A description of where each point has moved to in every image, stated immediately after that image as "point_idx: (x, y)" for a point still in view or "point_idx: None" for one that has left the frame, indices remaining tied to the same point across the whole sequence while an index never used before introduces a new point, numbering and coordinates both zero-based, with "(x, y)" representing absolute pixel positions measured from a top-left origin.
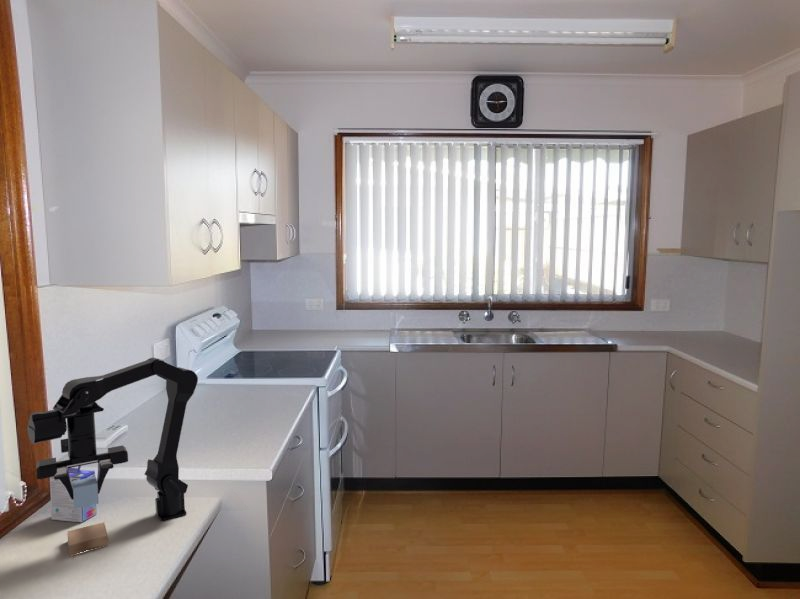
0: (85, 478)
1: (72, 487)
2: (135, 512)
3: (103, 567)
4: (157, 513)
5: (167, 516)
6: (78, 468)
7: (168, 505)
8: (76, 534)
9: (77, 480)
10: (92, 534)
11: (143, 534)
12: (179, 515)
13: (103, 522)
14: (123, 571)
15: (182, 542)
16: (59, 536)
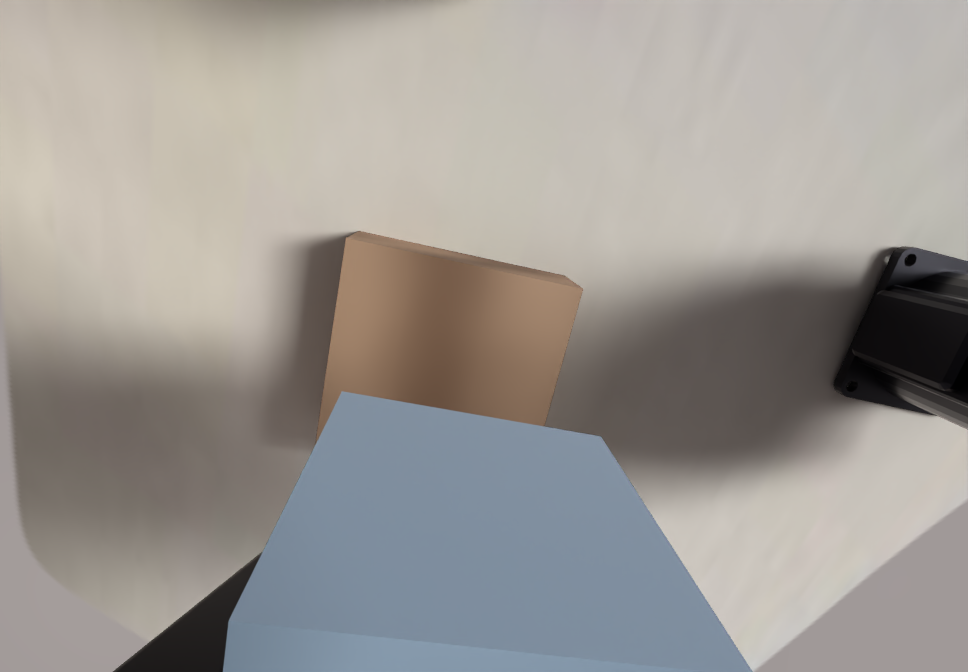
0: (544, 657)
1: (282, 518)
2: (819, 128)
3: None
4: (866, 355)
5: (880, 386)
6: None
7: (955, 419)
8: (385, 340)
9: (357, 653)
10: None
11: (691, 462)
12: (924, 412)
13: (576, 291)
14: None
15: (756, 647)
16: (329, 99)
